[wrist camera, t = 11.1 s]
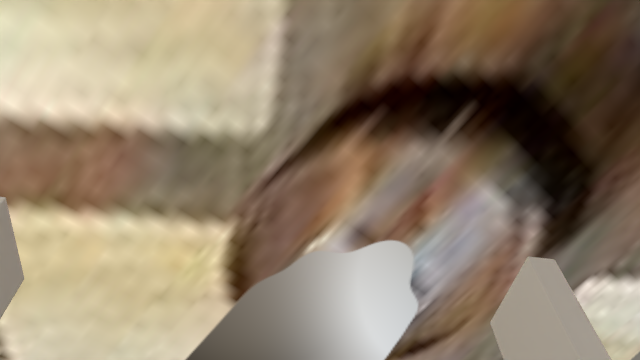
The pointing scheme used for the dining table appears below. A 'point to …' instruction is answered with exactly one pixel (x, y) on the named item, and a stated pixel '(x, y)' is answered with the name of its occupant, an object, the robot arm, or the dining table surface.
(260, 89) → the dining table surface
